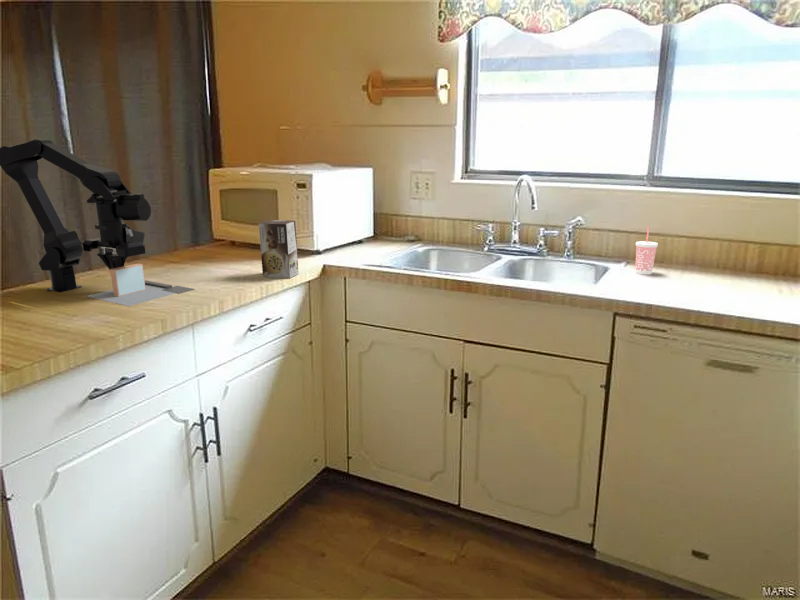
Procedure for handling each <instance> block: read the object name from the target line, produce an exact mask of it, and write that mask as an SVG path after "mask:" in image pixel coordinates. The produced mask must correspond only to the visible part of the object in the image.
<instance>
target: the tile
mask: <svg viewBox="0 0 800 600" xmlns="http://www.w3.org/2000/svg"><path fill="white" fill-rule="evenodd" d="M109 272H110V277H111V278H110V280H111V285H112V290H113V293H114V296H118V297H120V296H124V295H127V294H131V293H135V292H139V291H143V290H146V287H145V280H146V279H145V274H144V273H145V272H144V267H143V263H135V264H133V263H132V264H129V265H124V267H119V268H114V269H110V270H109Z"/></svg>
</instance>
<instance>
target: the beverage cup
mask: <svg viewBox="0 0 800 600" xmlns="http://www.w3.org/2000/svg"><path fill="white" fill-rule="evenodd" d="M649 236H650V225H647V230H646V240H640V241H636V242H635V268H634V269H635V271H634V272H635V274H639V275H651V274H653V270H654V269H653V268H654V264H655V263H654V262H655V257H656V254H657V253H656V252H657V248H658V246H659V245H658V244H659V243H658V242H656V241H655V242H654V241H649Z"/></svg>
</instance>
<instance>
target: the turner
mask: <svg viewBox="0 0 800 600" xmlns="http://www.w3.org/2000/svg"><path fill="white" fill-rule="evenodd" d="M144 280H145V284H146V285H151V286H156V287H161V288H166V289H163V290H164V291H169V292H174V293H176V294H179V295H180V294H183V293H186V292H191V291H193V290H195V288H192V287H185V286H181V285H174V286H173V285H172V284H168V283H163V282H158V281H152V280H151V281H150V280H146V279H144Z"/></svg>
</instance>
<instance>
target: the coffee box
mask: <svg viewBox="0 0 800 600" xmlns="http://www.w3.org/2000/svg"><path fill="white" fill-rule="evenodd" d="M257 224H258V233H259V245H260V246H259V247H260V257H261V270H262V277H263V278H275V279H276V278H277V279H278V278H279V279H282V278H283V279H291V278H294V277H295V276H298V275H299V262H298V261H299V258H298V244H297V243H298V240H297V229H296V227H297V226H296V220H287V219H286V220H285V219H284V220H283V219H282V220H280V219H267V220H264V221H261V222H259V223H257Z"/></svg>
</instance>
